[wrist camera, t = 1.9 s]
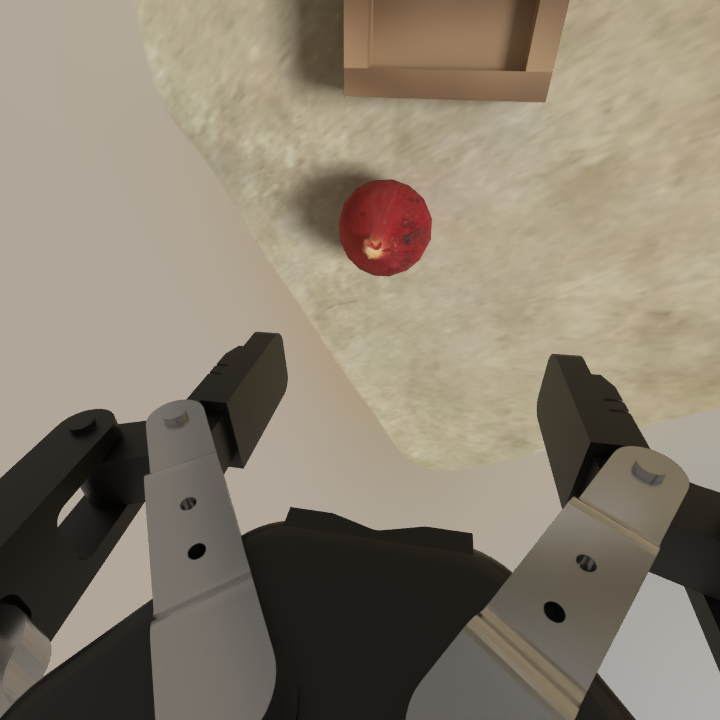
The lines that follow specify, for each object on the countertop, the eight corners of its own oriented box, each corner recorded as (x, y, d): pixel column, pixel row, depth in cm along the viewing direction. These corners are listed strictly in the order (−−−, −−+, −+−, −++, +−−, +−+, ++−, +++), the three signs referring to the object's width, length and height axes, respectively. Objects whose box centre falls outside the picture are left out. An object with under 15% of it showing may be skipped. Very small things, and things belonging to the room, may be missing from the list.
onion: (436, 167, 27) (428, 197, 20) (432, 252, 30) (425, 301, 24) (349, 170, 28) (316, 199, 21) (355, 252, 31) (328, 298, 25)
